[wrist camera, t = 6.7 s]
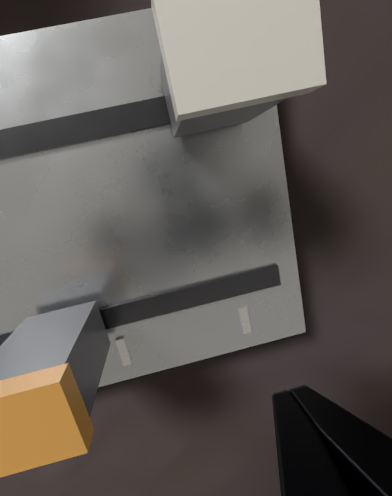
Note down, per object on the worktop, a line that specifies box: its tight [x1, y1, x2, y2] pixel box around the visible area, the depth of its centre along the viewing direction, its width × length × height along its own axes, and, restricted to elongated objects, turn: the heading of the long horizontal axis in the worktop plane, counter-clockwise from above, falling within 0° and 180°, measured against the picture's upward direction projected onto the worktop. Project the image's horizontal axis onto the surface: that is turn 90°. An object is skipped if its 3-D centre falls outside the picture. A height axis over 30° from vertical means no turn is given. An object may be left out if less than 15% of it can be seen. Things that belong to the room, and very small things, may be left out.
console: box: [0, 8, 306, 387], centre depth 13 cm, size 20×15×3 cm
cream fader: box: [151, 0, 326, 138], centre depth 9 cm, size 3×2×5 cm
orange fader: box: [0, 301, 110, 477], centre depth 10 cm, size 3×2×5 cm
